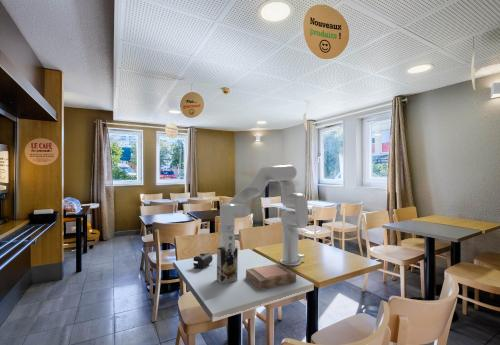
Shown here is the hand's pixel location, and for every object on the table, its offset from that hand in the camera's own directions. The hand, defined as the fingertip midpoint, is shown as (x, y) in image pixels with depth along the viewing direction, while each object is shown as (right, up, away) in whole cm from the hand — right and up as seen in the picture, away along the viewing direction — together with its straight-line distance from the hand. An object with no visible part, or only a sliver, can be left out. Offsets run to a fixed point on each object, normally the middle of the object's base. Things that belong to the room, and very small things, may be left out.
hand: (226, 262), depth 127 cm
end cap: (-15, -10, +19) cm, 26 cm away
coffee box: (0, -9, 0) cm, 9 cm away
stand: (+22, -9, +1) cm, 24 cm away
